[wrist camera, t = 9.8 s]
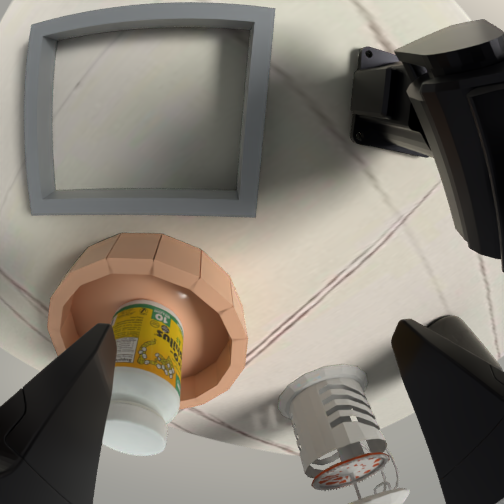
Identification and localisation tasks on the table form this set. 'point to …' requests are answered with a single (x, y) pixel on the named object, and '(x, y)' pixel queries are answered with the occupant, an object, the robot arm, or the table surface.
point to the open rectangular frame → (145, 199)
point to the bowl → (166, 293)
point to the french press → (338, 431)
